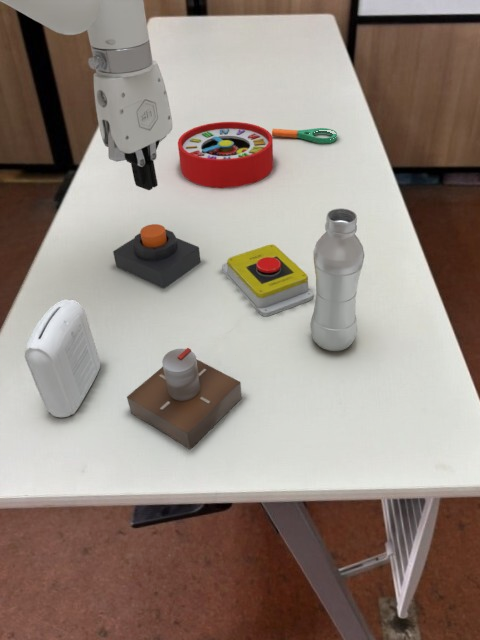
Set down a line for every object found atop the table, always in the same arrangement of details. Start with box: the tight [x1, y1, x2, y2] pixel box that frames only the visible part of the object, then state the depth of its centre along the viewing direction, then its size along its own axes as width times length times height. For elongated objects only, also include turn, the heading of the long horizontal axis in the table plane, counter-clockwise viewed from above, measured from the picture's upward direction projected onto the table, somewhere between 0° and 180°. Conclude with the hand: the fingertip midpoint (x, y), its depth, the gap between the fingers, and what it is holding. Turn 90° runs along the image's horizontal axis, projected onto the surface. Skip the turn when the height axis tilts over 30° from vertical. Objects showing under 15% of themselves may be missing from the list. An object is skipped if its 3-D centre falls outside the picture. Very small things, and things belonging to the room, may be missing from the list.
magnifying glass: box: [271, 127, 338, 144], centre depth 134 cm, size 15×6×2 cm, turn 81°
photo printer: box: [24, 298, 101, 418], centre depth 71 cm, size 10×4×12 cm, turn 170°
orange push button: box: [139, 223, 167, 247], centre depth 93 cm, size 4×4×2 cm
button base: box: [112, 228, 202, 289], centre depth 95 cm, size 11×9×5 cm
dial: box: [161, 347, 200, 401], centre depth 69 cm, size 4×4×5 cm
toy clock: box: [177, 121, 274, 189], centre depth 122 cm, size 20×6×20 cm
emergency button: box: [221, 244, 314, 317], centre depth 91 cm, size 9×4×15 cm
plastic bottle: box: [309, 208, 365, 352], centre depth 75 cm, size 6×7×20 cm
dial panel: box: [126, 358, 243, 450], centre depth 72 cm, size 10×10×3 cm
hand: (146, 185), depth 87 cm, fingers closed
